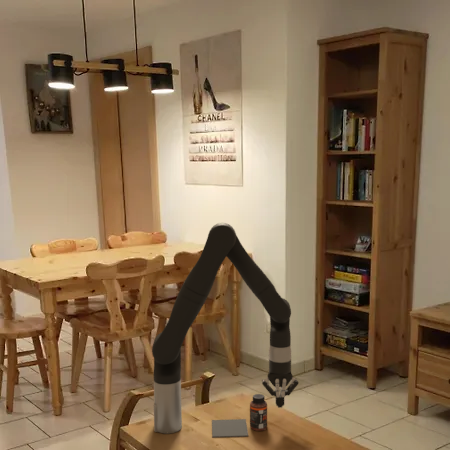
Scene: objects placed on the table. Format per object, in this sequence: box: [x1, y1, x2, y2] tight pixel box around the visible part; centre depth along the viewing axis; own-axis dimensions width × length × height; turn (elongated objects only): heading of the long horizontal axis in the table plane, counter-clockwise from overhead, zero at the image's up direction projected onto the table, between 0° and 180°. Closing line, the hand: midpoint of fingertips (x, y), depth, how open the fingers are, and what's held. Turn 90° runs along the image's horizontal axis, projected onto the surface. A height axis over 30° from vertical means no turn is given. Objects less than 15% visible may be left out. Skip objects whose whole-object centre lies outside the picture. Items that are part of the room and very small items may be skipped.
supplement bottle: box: [249, 393, 268, 432], centre depth 192 cm, size 6×6×11 cm
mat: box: [211, 418, 249, 439], centre depth 192 cm, size 12×12×1 cm
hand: (280, 406), depth 192 cm, fingers closed
